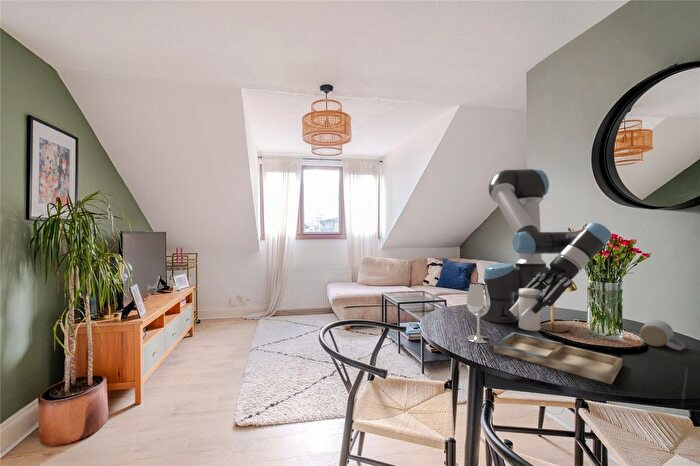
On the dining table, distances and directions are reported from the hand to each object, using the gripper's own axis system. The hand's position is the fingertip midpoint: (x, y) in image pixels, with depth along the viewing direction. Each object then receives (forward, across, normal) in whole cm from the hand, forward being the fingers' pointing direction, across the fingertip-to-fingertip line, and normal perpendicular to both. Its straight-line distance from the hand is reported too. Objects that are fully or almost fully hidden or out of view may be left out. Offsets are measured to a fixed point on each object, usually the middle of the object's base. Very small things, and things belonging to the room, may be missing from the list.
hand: (518, 315), depth 105 cm
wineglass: (+14, +14, -4) cm, 20 cm away
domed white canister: (0, 0, -5) cm, 5 cm away
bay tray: (+3, -5, -15) cm, 16 cm away
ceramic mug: (-28, +4, -45) cm, 53 cm away
